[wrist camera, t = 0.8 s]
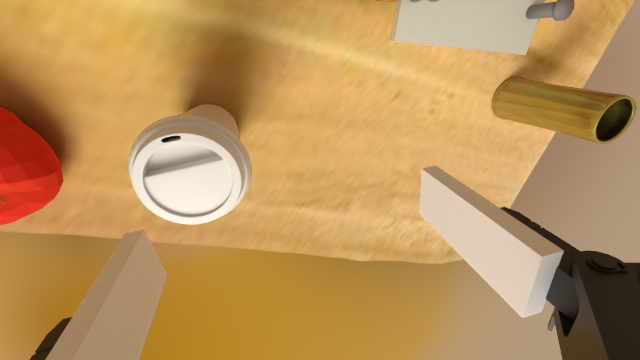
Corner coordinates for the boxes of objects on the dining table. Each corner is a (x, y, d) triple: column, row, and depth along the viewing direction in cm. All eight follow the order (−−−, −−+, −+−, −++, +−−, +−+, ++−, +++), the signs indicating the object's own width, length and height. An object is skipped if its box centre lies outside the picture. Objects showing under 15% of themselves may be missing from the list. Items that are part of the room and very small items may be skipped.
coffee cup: (255, 99, 35) (259, 132, 22) (245, 169, 39) (244, 235, 25) (169, 83, 32) (115, 110, 19) (167, 161, 36) (121, 229, 23)
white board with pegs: (407, -60, 32) (437, -79, 27) (547, -31, 36) (595, -43, 31) (390, 41, 36) (413, 40, 31) (518, 54, 40) (556, 56, 35)
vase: (487, 120, 44) (582, 151, 31) (495, 78, 41) (604, 94, 29) (520, 116, 45) (625, 144, 33) (531, 75, 42) (650, 88, 30)
